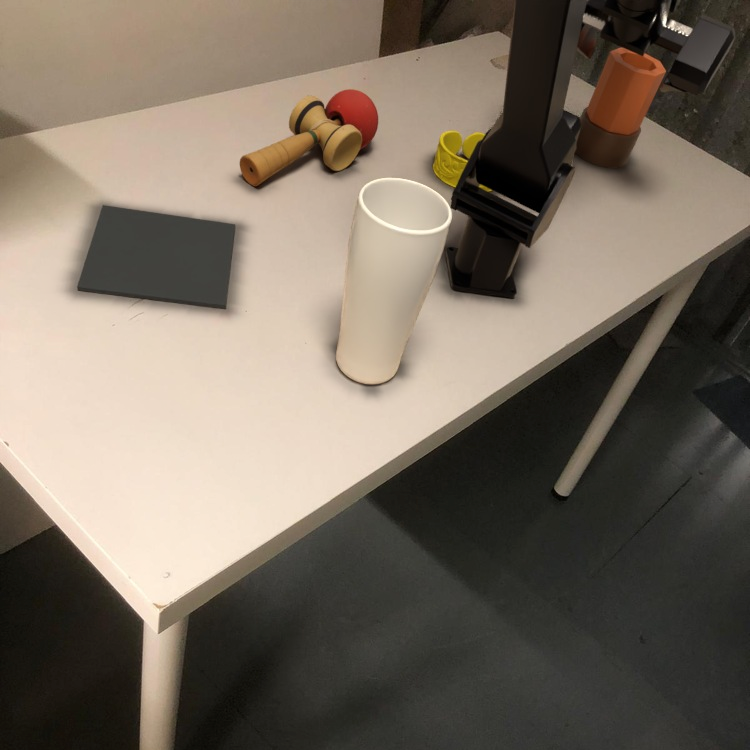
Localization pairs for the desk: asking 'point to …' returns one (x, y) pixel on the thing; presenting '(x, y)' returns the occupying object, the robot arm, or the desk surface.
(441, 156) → the bracelet
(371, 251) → the drinking glass
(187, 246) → the mat
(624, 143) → the stand
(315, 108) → the kendama
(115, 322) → the desk surface
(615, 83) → the orange hollow octagonal prism
